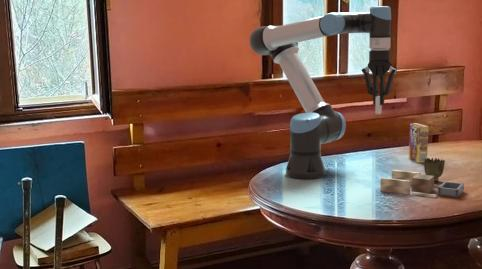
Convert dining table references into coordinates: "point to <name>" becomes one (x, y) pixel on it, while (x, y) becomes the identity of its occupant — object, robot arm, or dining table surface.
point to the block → (422, 183)
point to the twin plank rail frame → (401, 183)
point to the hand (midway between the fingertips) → (378, 113)
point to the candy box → (418, 142)
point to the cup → (434, 167)
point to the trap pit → (450, 189)
